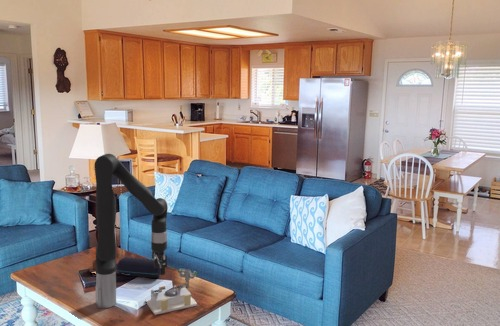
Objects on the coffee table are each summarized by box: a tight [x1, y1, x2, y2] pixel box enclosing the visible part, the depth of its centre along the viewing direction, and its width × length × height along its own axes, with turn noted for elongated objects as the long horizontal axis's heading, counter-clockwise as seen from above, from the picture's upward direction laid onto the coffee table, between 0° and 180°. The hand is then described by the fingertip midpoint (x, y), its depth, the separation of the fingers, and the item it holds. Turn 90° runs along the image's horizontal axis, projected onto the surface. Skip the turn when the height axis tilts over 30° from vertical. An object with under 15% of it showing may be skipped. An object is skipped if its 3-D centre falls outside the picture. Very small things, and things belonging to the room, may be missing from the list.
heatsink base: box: [146, 283, 198, 316], centre depth 226 cm, size 22×15×6 cm
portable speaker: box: [116, 257, 161, 279], centre depth 256 cm, size 25×10×10 cm, turn 84°
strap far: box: [176, 281, 188, 289], centre depth 229 cm, size 2×12×2 cm, turn 30°
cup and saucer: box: [88, 259, 96, 271], centre depth 259 cm, size 12×12×6 cm
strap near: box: [154, 286, 166, 293], centre depth 223 cm, size 2×12×2 cm, turn 30°
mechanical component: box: [177, 268, 198, 289], centre depth 244 cm, size 3×10×10 cm, turn 79°
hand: (159, 271), depth 219 cm, fingers open, 8 cm apart
